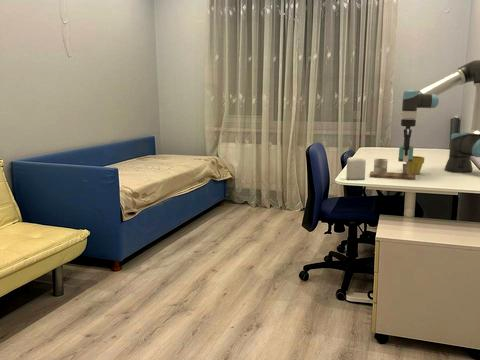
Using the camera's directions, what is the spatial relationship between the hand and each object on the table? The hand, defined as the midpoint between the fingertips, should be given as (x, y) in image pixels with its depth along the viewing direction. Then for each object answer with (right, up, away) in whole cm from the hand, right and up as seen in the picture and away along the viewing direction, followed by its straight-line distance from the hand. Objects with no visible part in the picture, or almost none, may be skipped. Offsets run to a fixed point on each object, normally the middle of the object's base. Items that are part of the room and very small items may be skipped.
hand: (405, 160), depth 243 cm
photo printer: (-29, -11, -3) cm, 31 cm away
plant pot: (+11, -7, +15) cm, 20 cm away
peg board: (-6, -9, +4) cm, 11 cm away
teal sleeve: (0, 0, 0) cm, 0 cm away
